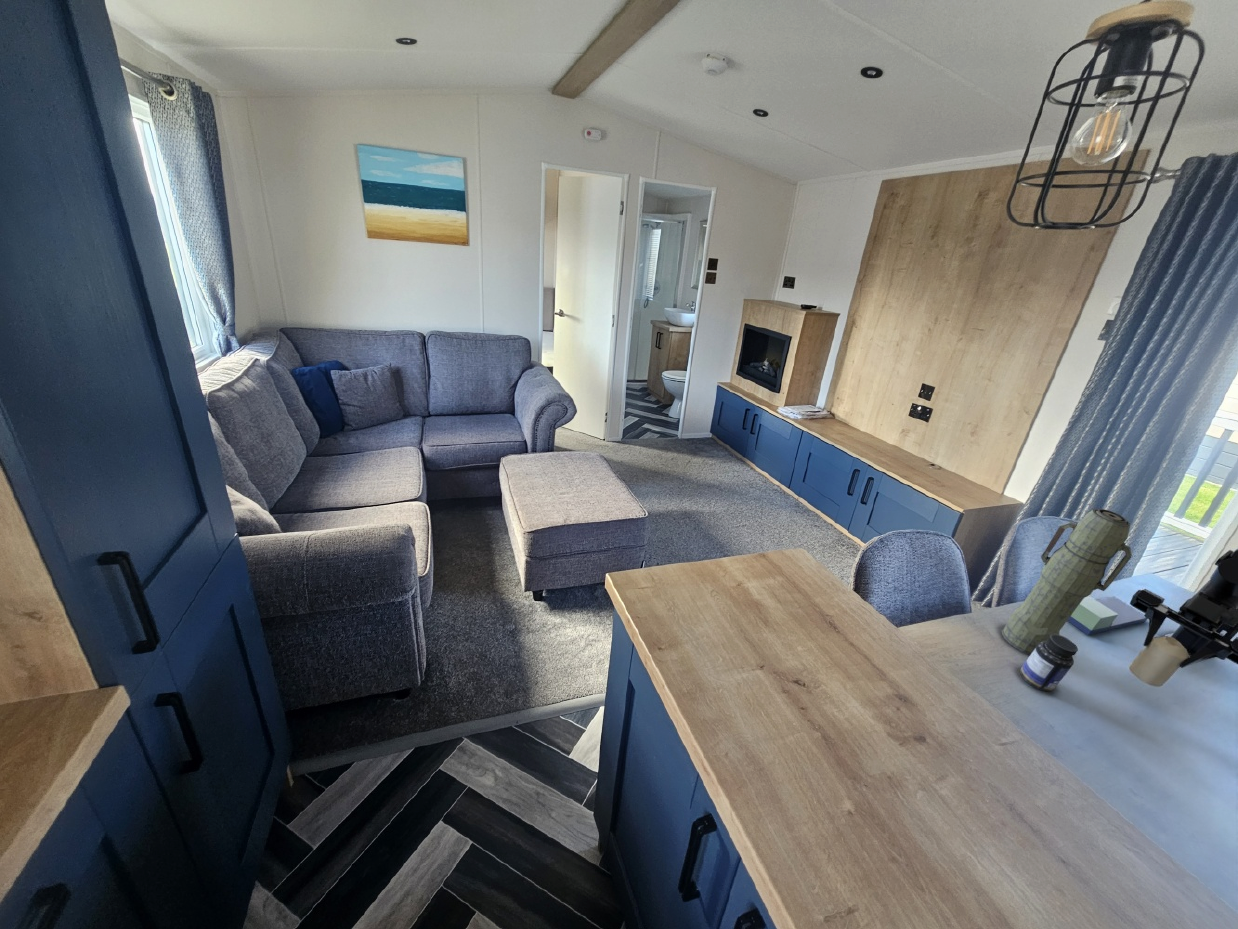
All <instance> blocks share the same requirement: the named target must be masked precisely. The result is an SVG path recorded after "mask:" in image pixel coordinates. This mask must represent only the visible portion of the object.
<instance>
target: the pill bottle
mask: <svg viewBox="0 0 1238 929" xmlns="http://www.w3.org/2000/svg"><path fill="white" fill-rule="evenodd" d="M1078 651H1079V648H1078V646H1077V645H1076V644H1075V643H1074V642H1073V641H1072V640H1071V639H1069V638H1067V637H1066V636H1063V635H1061V634H1059V635H1057V634H1051V635H1050V636H1049V638H1048V639H1047V642H1046V641H1044V642H1040V643H1039V644H1038V645H1037V647H1036V648H1035V649H1034V651H1033V652H1032V654H1031V655H1028V657H1027V659H1026V660H1025V662H1024V663H1023V664H1022V666H1021V667H1020V669H1019V673H1020V676H1021V677H1022V679H1023V680H1024V681H1025V682H1026V683H1027V684H1029V685H1030V686H1031V687H1032V688H1035V689H1036V690H1040V691H1043V692H1053V691H1054V690H1055V689H1056V687H1057V686H1058V685H1059V684H1060V682H1061V681H1062V680H1063V679H1064V677H1065V676H1066V675H1067V673H1068V672H1069V671H1070V670H1071V669H1072V667H1073V666H1074V664H1075V659H1074V656H1075V655H1077V653H1078Z"/></svg>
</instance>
